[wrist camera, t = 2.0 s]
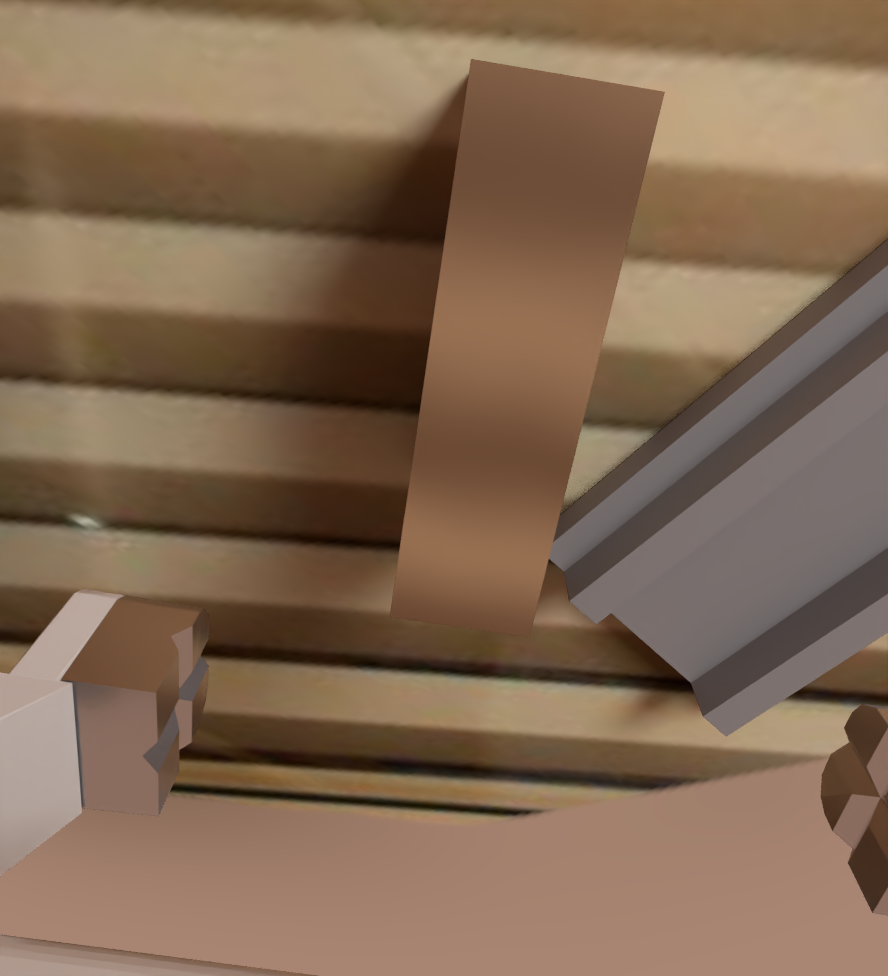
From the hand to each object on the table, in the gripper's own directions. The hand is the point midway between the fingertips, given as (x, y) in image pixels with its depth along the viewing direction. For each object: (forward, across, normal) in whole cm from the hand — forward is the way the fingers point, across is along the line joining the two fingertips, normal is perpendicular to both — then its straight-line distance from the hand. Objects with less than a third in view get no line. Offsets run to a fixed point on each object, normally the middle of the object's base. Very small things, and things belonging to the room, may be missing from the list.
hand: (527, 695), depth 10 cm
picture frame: (+20, 0, 0) cm, 21 cm away
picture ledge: (+20, -14, +4) cm, 25 cm away
